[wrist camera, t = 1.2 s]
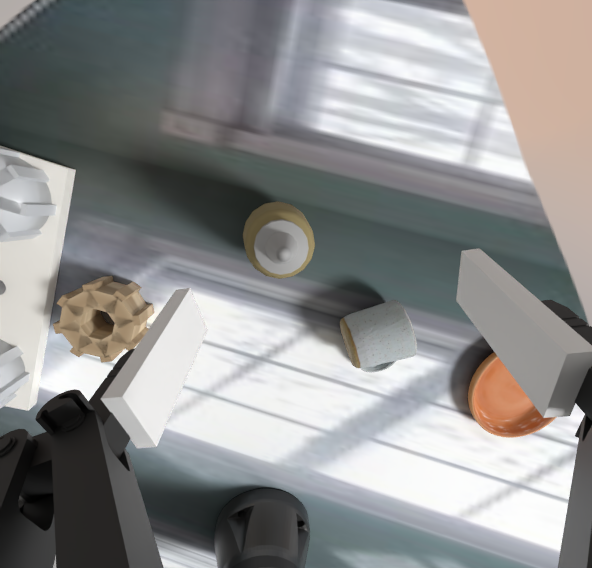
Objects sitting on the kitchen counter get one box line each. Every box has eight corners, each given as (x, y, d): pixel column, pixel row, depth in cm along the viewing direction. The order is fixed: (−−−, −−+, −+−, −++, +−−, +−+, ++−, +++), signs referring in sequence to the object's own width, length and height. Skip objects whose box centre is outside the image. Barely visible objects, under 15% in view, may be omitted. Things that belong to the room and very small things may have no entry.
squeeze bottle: (234, 215, 39) (208, 220, 21) (294, 192, 39) (317, 179, 21) (258, 274, 41) (252, 322, 23) (315, 252, 41) (352, 284, 23)
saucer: (444, 414, 49) (455, 427, 46) (486, 323, 46) (501, 331, 43) (527, 433, 52) (543, 447, 49) (573, 349, 48) (592, 358, 46)
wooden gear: (144, 352, 42) (130, 369, 37) (72, 334, 40) (48, 350, 36) (160, 289, 40) (146, 298, 36) (84, 268, 39) (61, 275, 34)
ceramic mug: (332, 310, 43) (346, 332, 36) (388, 292, 43) (413, 310, 36) (351, 374, 46) (367, 406, 38) (403, 356, 46) (429, 386, 39)
